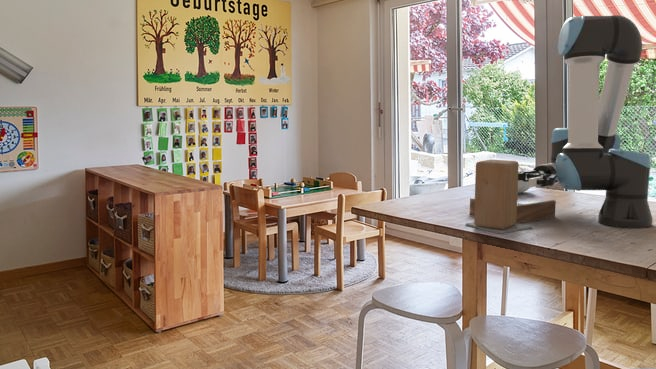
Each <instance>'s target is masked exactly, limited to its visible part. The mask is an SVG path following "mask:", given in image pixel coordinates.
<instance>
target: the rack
mask: <svg viewBox="0 0 656 369" xmlns="http://www.w3.org/2000/svg"><path fill="white" fill-rule="evenodd" d="M536 202H537V203H530V204H523V205H518V204H517V218H516V223H519V224H522V223H527V222H532V221H538V220H539V221H540V220H544V219H550V218H555V217H556V206H557V205H556V203H557V202H556V200H552V199H551V200H547V201H536ZM474 211H475V197H471V198H469V215H473V216H474Z"/></svg>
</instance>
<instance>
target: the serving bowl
mask: <svg viewBox="0 0 656 369" xmlns="http://www.w3.org/2000/svg"><path fill="white" fill-rule="evenodd" d="M526 180H528V179H527V178H526ZM528 185H529V182H524V181H522V180H518V193H517V195H518V194H520V193H524V192H526V191H528V190H529V189H531V188H530V187H528Z"/></svg>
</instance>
